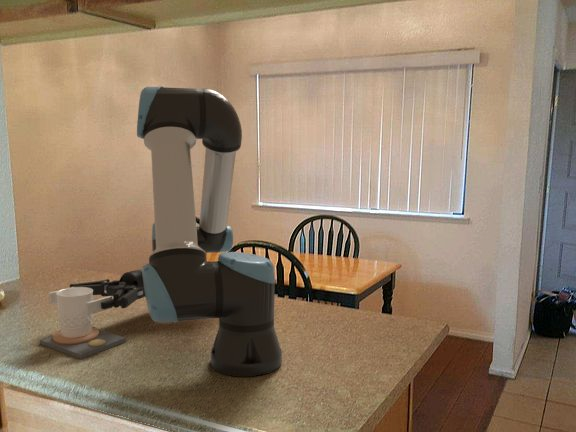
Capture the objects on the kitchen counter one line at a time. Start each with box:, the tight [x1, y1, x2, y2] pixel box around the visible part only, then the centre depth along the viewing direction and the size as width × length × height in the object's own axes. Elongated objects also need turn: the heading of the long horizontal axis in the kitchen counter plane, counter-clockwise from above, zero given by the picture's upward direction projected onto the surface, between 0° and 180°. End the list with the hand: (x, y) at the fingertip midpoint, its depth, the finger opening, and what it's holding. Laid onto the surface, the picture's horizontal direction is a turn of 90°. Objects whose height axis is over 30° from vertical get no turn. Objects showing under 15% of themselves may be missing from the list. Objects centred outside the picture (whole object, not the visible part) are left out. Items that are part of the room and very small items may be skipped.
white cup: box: [56, 287, 94, 338], centre depth 120 cm, size 8×8×10 cm
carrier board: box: [39, 326, 127, 360], centre depth 119 cm, size 15×12×2 cm
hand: (67, 303), depth 118 cm, fingers open, 13 cm apart
